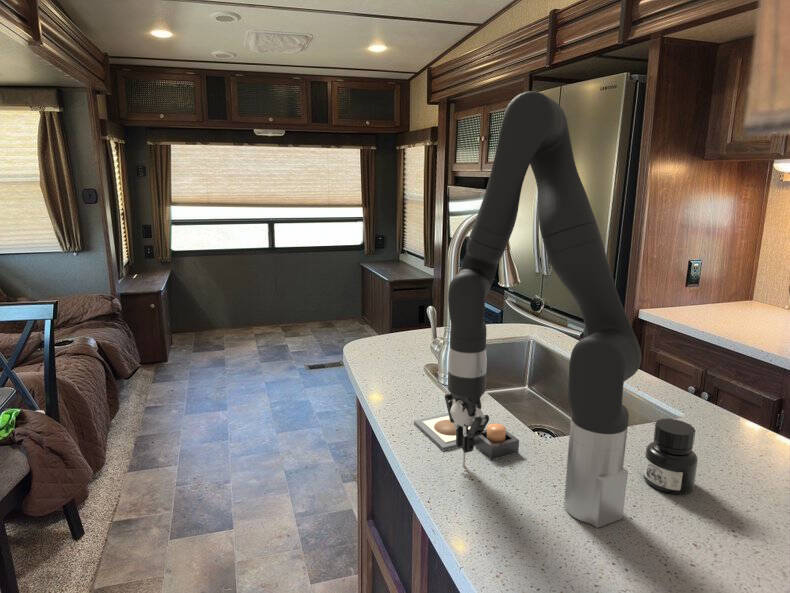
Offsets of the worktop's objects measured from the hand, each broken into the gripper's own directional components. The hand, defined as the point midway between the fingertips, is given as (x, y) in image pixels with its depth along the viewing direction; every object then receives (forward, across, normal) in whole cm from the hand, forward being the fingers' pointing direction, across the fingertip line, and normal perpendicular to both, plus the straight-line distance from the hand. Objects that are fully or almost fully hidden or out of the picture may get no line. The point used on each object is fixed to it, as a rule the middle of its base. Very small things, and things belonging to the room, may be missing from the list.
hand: (464, 448), depth 110 cm
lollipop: (+4, 0, 0) cm, 4 cm away
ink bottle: (+4, -22, -33) cm, 40 cm away
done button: (+2, +3, -10) cm, 11 cm away
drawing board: (+4, +14, -5) cm, 15 cm away
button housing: (+4, +3, -10) cm, 11 cm away
